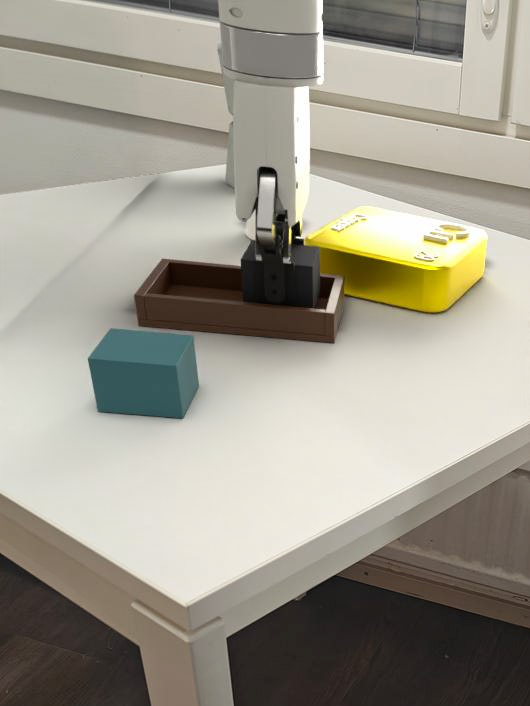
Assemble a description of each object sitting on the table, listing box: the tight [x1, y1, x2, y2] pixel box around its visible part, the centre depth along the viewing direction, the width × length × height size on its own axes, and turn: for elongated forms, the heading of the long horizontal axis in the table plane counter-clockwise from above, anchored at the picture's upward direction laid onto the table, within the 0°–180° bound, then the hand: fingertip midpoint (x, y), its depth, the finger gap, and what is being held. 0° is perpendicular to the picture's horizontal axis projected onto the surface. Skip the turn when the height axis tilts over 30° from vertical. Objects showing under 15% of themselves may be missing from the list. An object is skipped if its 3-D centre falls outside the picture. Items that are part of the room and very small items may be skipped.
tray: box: [133, 257, 345, 344], centre depth 79 cm, size 17×10×3 cm, turn 91°
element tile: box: [304, 205, 488, 314], centre depth 89 cm, size 15×15×5 cm
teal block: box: [87, 327, 200, 419], centre depth 65 cm, size 6×6×4 cm
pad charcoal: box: [240, 239, 320, 309], centre depth 78 cm, size 6×6×4 cm
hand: (282, 293), depth 79 cm, fingers closed on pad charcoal, 5 cm apart
